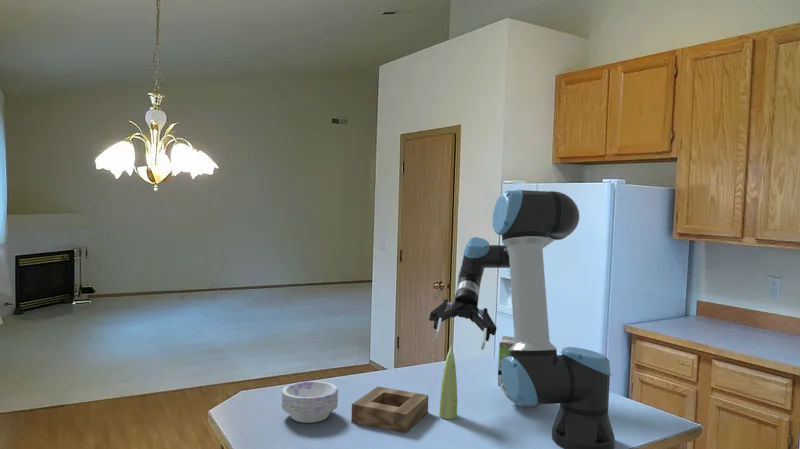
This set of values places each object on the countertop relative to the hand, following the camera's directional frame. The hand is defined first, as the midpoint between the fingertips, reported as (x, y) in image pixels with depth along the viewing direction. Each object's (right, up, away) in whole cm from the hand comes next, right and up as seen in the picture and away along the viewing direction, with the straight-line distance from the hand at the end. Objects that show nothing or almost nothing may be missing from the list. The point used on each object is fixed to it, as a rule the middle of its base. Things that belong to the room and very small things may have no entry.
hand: (459, 340), depth 159 cm
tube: (-4, -20, -4) cm, 21 cm away
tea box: (+23, -20, +25) cm, 40 cm away
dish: (+20, -21, +5) cm, 29 cm away
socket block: (-20, -20, -6) cm, 29 cm away
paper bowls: (-42, -20, -7) cm, 47 cm away
